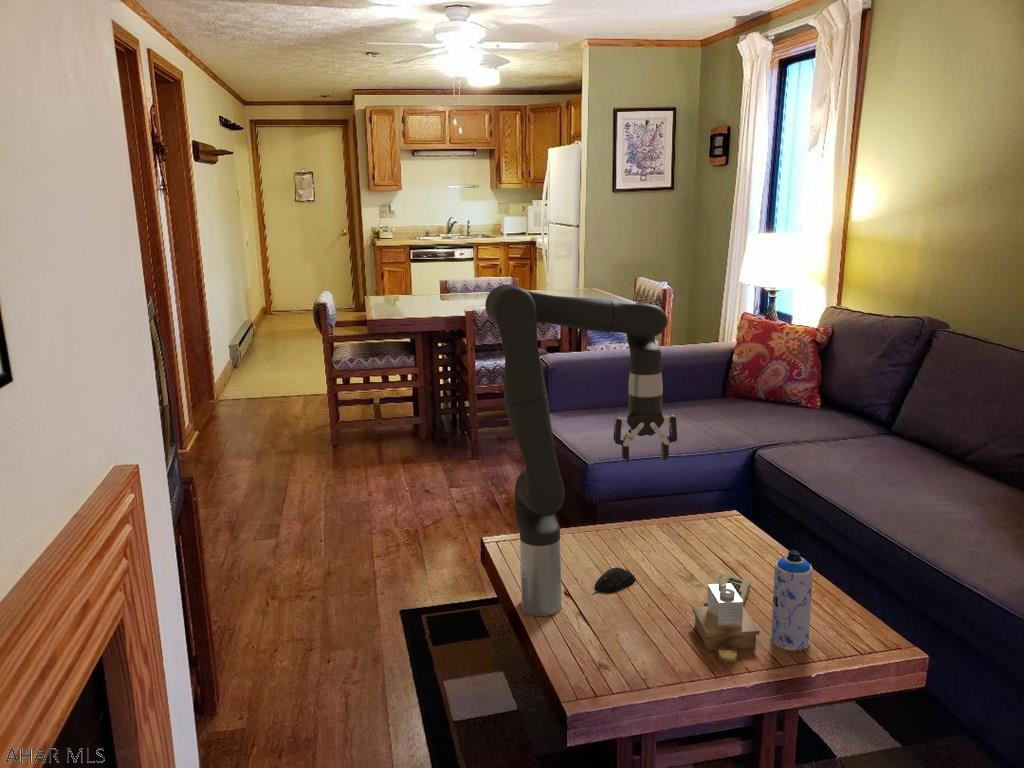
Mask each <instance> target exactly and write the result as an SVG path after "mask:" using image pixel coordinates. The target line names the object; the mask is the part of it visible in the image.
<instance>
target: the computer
mask: <svg viewBox="0 0 1024 768" xmlns="http://www.w3.org/2000/svg"><path fill="white" fill-rule="evenodd" d="M720 583H724V584H732V586H733V587H734V589H735V590H736V592H737V593H738V595H739V596H740V598H741V599H742V601H743V607H744V605H745V602H746V600H747V597H748V595H749V591H750V588H751V582H750V581H749V580H746V579H742V578H739V577H736V576H733V575H729V574H727V573H726V574H724V573H718V574H717V575H716V577H715V579H714V582H713V584H720ZM704 606H708V596H707V597H706V599H705V601H704V604H703V607H704Z"/></svg>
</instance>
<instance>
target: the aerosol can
mask: <svg viewBox="0 0 1024 768" xmlns="http://www.w3.org/2000/svg"><path fill="white" fill-rule="evenodd" d="M813 571H814V570H813V567H812V564H810V563H809V561H808V560H807V559H806V558H803V557H801V552H799V551H797V550H795V549H791V550H790V549H789V551H788V553H787V555H785V556H782V557H781V558H780V559H778V560H777V561H776V562H775V565H774V573H773V575H774V576H773V594H772V595H773V596H772V597H773V598H772V615H771V616H772V617H771V633H770V641H771V642H772V643H773V644H774V645H775V646H777V647H778V648H781V649H784V650H789V651H802V650H805V649H808V647H809V646H810V644H811V643H810V642H811V641H810V625H811V611H812V610H811V609H812V608H811V607H812V591H813V573H814V572H813Z"/></svg>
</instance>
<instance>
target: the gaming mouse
mask: <svg viewBox="0 0 1024 768" xmlns="http://www.w3.org/2000/svg"><path fill="white" fill-rule="evenodd" d="M635 582H636V576H635V575H634V574H633V573H632V572H631V571H629V570H627V569H625V568H622V567H618V566H617V567H611V568H610V569H608V570H607V571H605V572H604V573H603V574H602V575H601V576H600V577H599V578H598V579H597V580H596V582H595V584H594V589H595V590H596V591H594V593H592V594H591V596H593V595H596V594H598V593H602V594H607V595H608V594H614V593H616V592H618V591H621V590H622V589H625V588H628V587H629V586H631V585H633V584H634V583H635Z"/></svg>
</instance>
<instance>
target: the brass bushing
mask: <svg viewBox="0 0 1024 768" xmlns="http://www.w3.org/2000/svg"><path fill="white" fill-rule="evenodd" d="M717 658H718V660H719V661H720V662H722V663H724V664H729V665H730V664H734V663H736V662H737V661H738V650H737V648H734V647H732V646H728V645H724V646H721V647H719V649H718V657H717Z"/></svg>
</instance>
